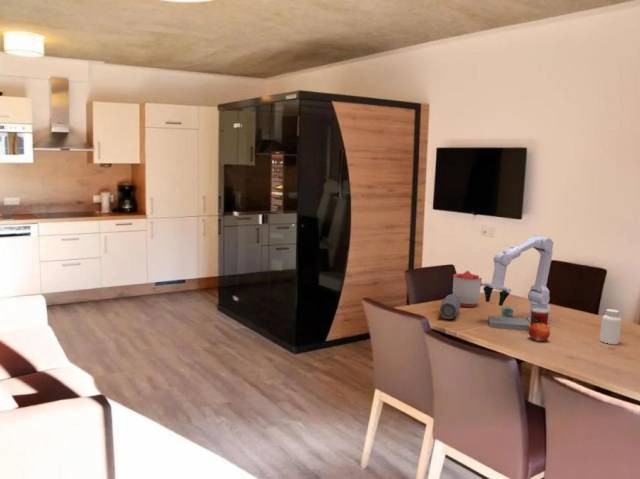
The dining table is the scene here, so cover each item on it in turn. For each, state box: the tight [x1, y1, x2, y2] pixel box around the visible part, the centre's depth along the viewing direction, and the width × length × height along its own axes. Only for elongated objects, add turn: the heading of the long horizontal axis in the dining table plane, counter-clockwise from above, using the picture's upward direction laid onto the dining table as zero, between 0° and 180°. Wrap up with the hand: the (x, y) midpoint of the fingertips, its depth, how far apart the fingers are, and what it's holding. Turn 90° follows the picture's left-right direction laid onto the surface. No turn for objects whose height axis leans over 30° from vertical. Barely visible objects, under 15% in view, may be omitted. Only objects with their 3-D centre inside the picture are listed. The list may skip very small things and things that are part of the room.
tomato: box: [528, 323, 551, 342], centre depth 257 cm, size 9×9×8 cm
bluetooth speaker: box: [439, 293, 461, 320], centre depth 294 cm, size 23×9×10 cm, turn 161°
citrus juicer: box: [452, 270, 484, 308], centre depth 319 cm, size 16×17×20 cm
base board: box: [487, 315, 530, 332], centre depth 280 cm, size 18×13×2 cm
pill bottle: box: [599, 308, 623, 345], centre depth 257 cm, size 8×8×15 cm
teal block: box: [500, 305, 514, 318], centre depth 292 cm, size 5×5×6 cm
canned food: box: [529, 308, 549, 327], centre depth 269 cm, size 8×8×11 cm
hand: (493, 303), depth 280 cm, fingers open, 7 cm apart
